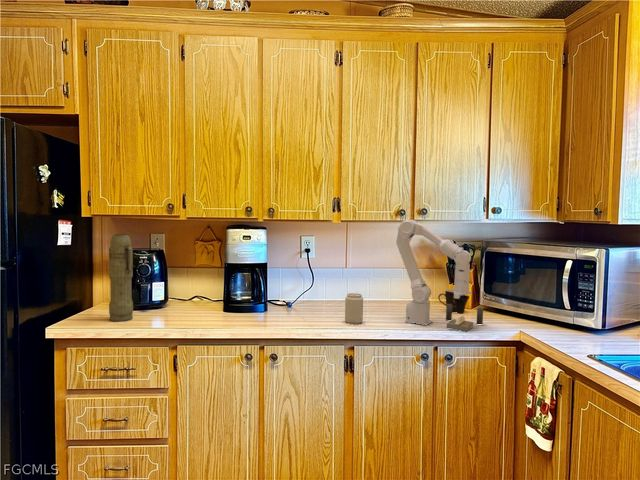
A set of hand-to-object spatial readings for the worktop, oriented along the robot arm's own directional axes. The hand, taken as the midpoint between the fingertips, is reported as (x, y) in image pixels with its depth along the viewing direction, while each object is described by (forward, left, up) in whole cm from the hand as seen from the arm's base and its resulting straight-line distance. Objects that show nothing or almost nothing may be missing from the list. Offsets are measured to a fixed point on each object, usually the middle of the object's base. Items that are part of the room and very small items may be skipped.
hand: (460, 313), depth 179 cm
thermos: (-118, -74, -6) cm, 139 cm away
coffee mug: (-12, +28, -6) cm, 31 cm away
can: (-39, -19, -6) cm, 44 cm away
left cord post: (-8, +10, -6) cm, 14 cm away
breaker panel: (0, 0, -6) cm, 6 cm away
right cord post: (+6, +10, -6) cm, 13 cm away
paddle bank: (0, 0, -4) cm, 4 cm away
